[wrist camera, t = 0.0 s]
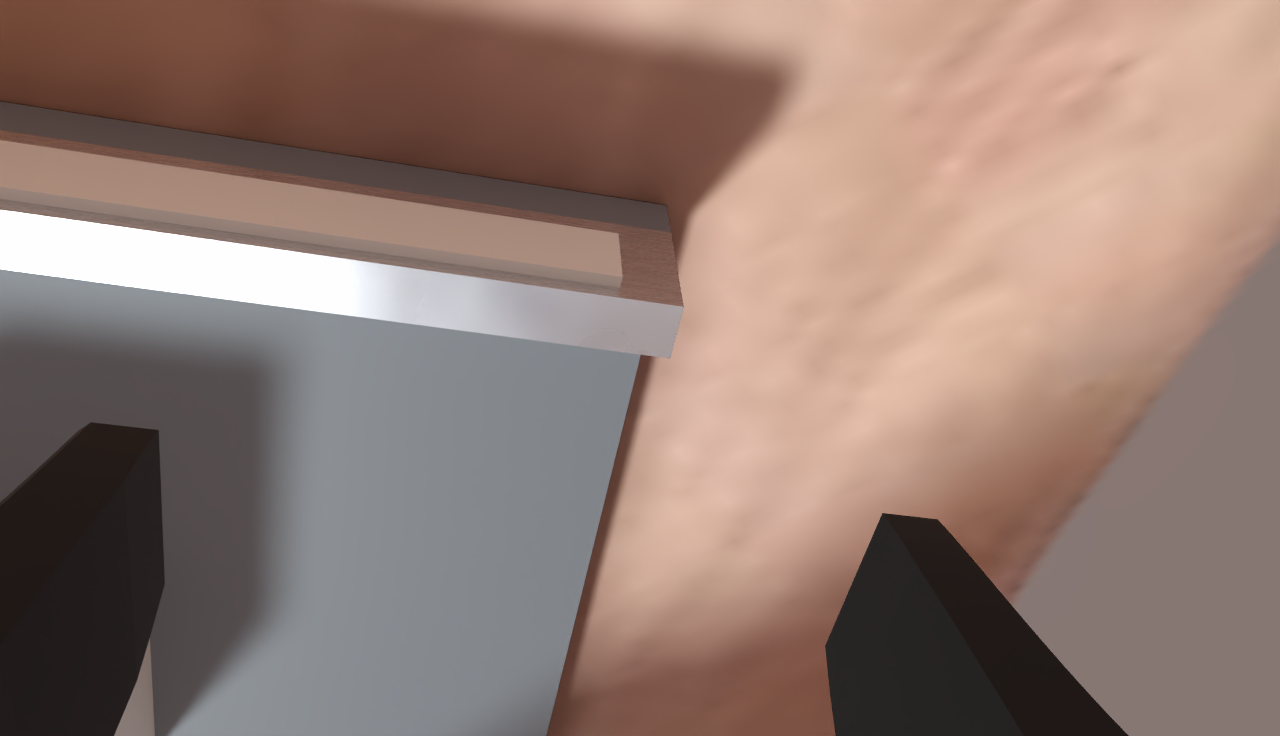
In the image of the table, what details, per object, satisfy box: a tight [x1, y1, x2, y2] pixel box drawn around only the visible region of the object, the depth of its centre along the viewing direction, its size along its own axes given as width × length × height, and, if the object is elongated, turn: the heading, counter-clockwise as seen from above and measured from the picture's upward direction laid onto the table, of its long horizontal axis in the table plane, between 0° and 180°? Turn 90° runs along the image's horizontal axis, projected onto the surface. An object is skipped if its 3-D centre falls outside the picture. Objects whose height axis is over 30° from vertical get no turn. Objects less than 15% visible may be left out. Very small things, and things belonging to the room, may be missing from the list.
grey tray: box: [0, 101, 684, 736], centre depth 23 cm, size 17×17×3 cm
